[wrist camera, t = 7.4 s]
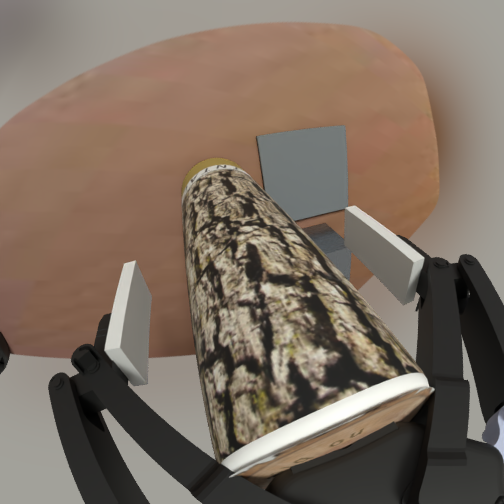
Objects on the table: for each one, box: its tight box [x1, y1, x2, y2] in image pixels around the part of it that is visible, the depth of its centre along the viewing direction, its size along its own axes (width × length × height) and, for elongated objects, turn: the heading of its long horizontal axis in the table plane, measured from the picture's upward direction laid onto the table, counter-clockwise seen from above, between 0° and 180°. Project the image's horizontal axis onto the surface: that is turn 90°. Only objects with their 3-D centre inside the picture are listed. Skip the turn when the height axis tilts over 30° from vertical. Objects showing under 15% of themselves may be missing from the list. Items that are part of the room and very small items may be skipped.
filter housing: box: [302, 223, 351, 281], centre depth 32 cm, size 12×12×6 cm
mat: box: [256, 125, 348, 221], centre depth 28 cm, size 10×10×1 cm
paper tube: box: [182, 158, 435, 490], centre depth 16 cm, size 7×7×25 cm
